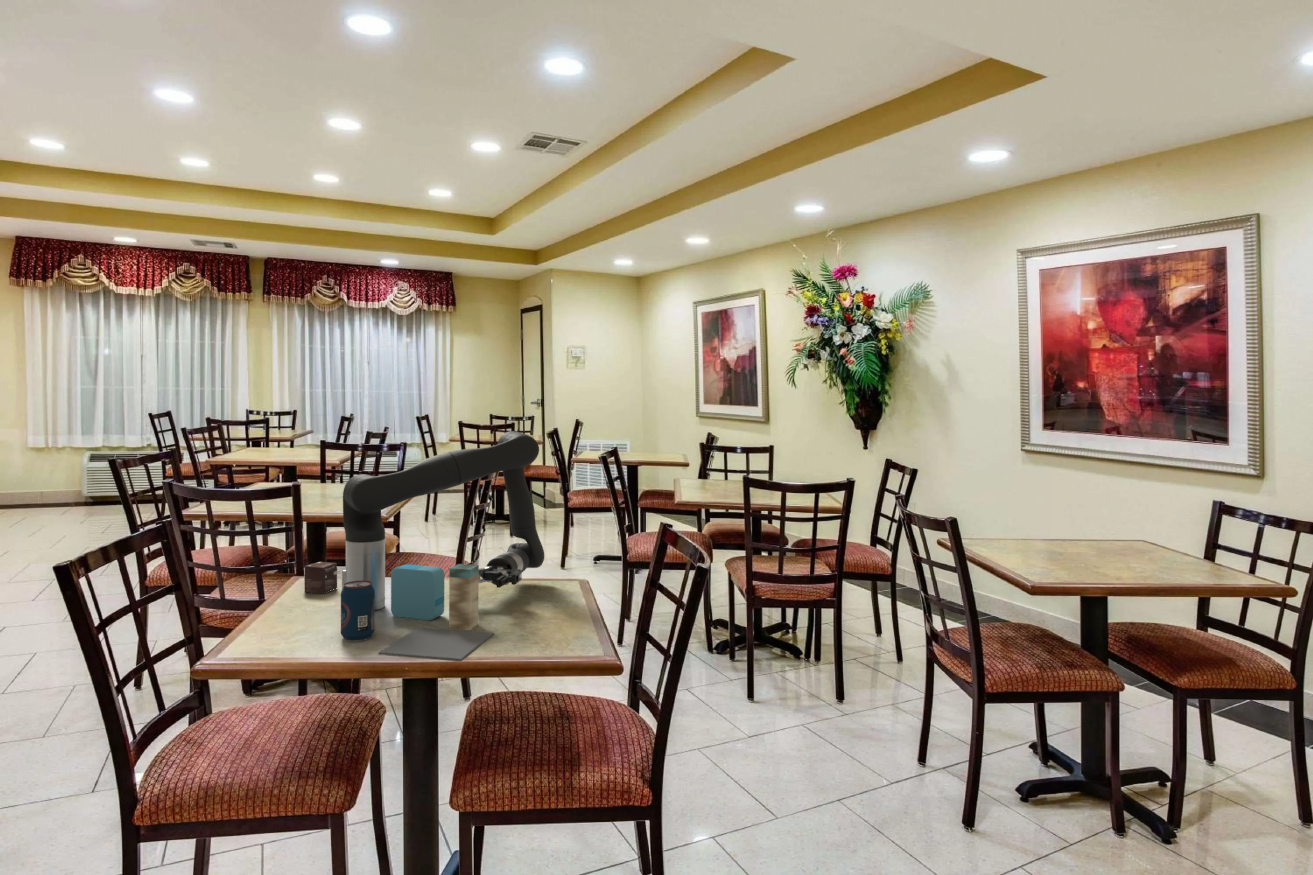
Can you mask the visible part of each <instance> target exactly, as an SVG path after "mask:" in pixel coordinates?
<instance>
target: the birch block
mask: <svg viewBox="0 0 1313 875" xmlns="http://www.w3.org/2000/svg"><path fill="white" fill-rule="evenodd" d="M479 565H480V564H465V563H457V564H456V565H454V566H451V567H450V568H448V569H449V570H448V572H449V580H448V582H449V583H448V584H449V588H448V589H449V590H448V591H449V595H448V601H449V602H448V607H449V608H448V615H449V616H448V629H456V630H470V631H472V629H473V628H475V627H476V626H478V625H479V588H480V587H479V584H480V583H479V569H480V568H479Z"/></svg>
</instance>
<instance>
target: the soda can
mask: <svg viewBox="0 0 1313 875" xmlns="http://www.w3.org/2000/svg"><path fill="white" fill-rule="evenodd" d="M375 611H376V610H375V590H374V588H373V586H372V582H370V581H351V582H347V583H345V584H344V587H343V589H342V588H341V590H340V634H341V637H343V638H342V639H344V641H346V642H353V641H355V642H362V641H367V640H370V639H371V638H372V636H373V634H374V633H375V632H376V631H375V627H376V624H375V621H376V620H375V618H376V617H375V616H376V614H375V613H376V612H375ZM366 639H367V640H366Z"/></svg>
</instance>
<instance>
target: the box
mask: <svg viewBox="0 0 1313 875" xmlns="http://www.w3.org/2000/svg"><path fill="white" fill-rule="evenodd" d="M336 588H337V589H338V562H325V561H318V562H315V563H310V564H306V565H304V593H305V592H312V593H311V594H317V593H326V592H328V591H330V590H333V589H336ZM337 589H336V590H337ZM333 591H334V590H333ZM328 593H329V592H328ZM326 594H327V593H326Z"/></svg>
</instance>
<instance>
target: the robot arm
mask: <svg viewBox="0 0 1313 875" xmlns="http://www.w3.org/2000/svg"><path fill="white" fill-rule="evenodd" d="M539 452H540V445H539V443H538V441H537V440H536V439H535V438H534V437H533V436H530V435H529V434H528V433H527V434H526V433H522V432H519V431H515V430H514V431H513V430H508V431H505V433H503V434H502V435H501V436H500V437H499V438H498V441H497V444H495V445H492V446H487V447H480V448H478V447H477V448H465V449H464V448H463V449H457V450H452V451H447V452H443V453H440V454H436V455H434V456H430V457H427V458H426V459H424V460H422V461H420V462H418V463H416V464H414V465H412V466H409V467H408V468H406V469H404V470H401V471H397V472H393V473H388V474H383V475H377V476H372V475H369V474H365V473H364V474H363V473H362V474H356V475H354V476H352V477H351V478H349V479H348V481H346V482H345V485H344V487H343V491H342V517H343V518H342V521H343V522H342V523H343V529H344V533H345V569H344V570H342V571H341V590H342V589H343V587H344V584H345V583H347V582H351V581H370V582H372V586H373V588H374V590H375V611H378V610H381V609H383V608H385V605H386V601H385V600H386V529H385V528H386V527H385V526H384V523H383V518H382V511H383V510H385V509H388V508H389V507H392V506H394V505H396V504H399V503H402V502H404V501H406V500H410V499H413V498H417V497H419V496H420V497H421V496H425V495H429V494H433V493H437V492H441V491H444V490H448V489H451V488H454V487H457V486H461V485H463V484H466V483H469V482H472V481H475V480H478V479H481V478H484V477H487V476H489V475H492V474H496V473H498V472H499V473H500V472H502V474H503V475H502V476H503V479H504V484H505V490H506V495H507V503H508V510H509V522H510V532H511V535H512V536H513V537H514V538H515V537H516V538H518V539H522V540H524V541H525V542H526V543H525V542H524V543H523V542H520V543H519V542H517V543H512V544H510V545H509V547H508V549H507V551H505V552H503V553H501V554H499V555H497V556H495V557H494V558H492V559H491V560H489V561H488V563H486V566H485V567H482V568H479V584H483V583H491V584H493V585H494V586H496V588H499V589H500V588H502V587H503V586H508V585H509V583H510V585H514V586H515V585H517V584H518V583H519V582H521V581H522V577H523V575H522V574H523V573H524V571H526V570H527V569H537V568H540V567H541V566H542V565H543V563H544V561H545V550H544V547H543V544H542V542H541V540H540V537H539V534H538V530H537V527H536V526H537V524H536V512H535V506H534V502H533V499H532V495H531V493H530V489H529V487H528V484H527V481H526V475H525V467H527V466H529V465H531V464H532V463H533V462H534V461H536V459H537V458H538V456H539V454H540V453H539Z"/></svg>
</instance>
